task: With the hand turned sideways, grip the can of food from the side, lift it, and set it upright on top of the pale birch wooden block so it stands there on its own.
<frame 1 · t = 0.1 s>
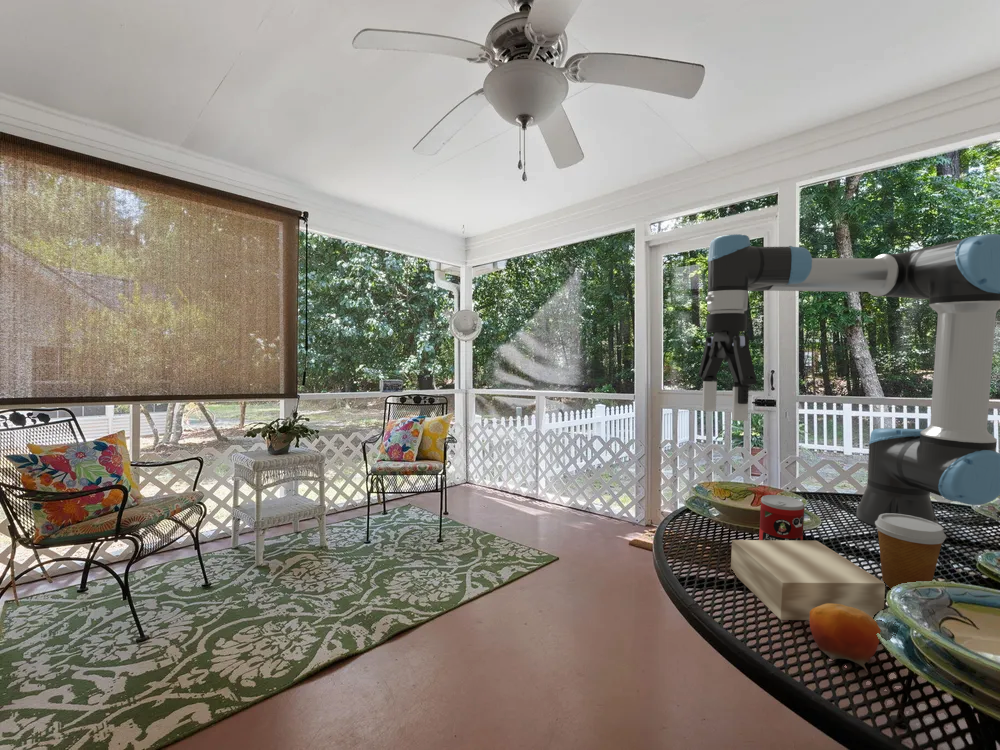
hand: (723, 415, 100), 28 cm above the table, tool pointing down, fingers open, 13 cm apart
birch block: (799, 593, 83), on the table
fruit: (843, 655, 67), on the table
disposable coffee cup: (905, 589, 85), on the table
canned food: (779, 553, 99), on the table
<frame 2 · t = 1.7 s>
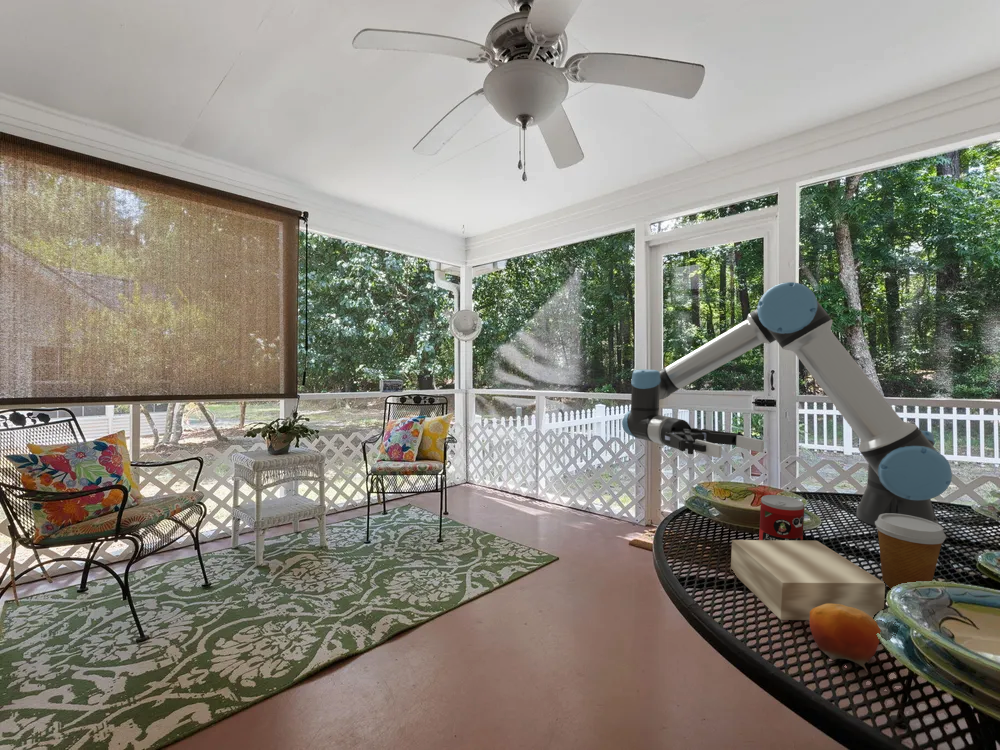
hand: (742, 449, 106), 20 cm above the table, tool horizontal, fingers open, 13 cm apart
nothing on the table moved.
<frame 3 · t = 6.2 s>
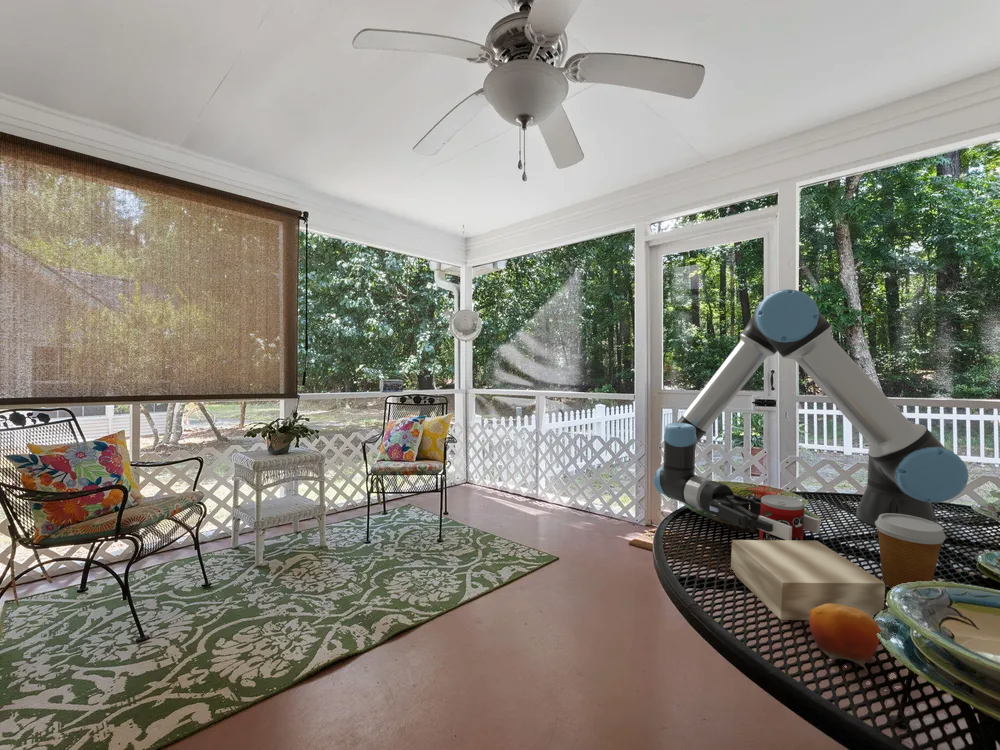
hand: (804, 530, 94), 7 cm above the table, tool horizontal, fingers closed on canned food, 8 cm apart
canned food: (779, 553, 99), on the table, touching gripper
everything else where it was.
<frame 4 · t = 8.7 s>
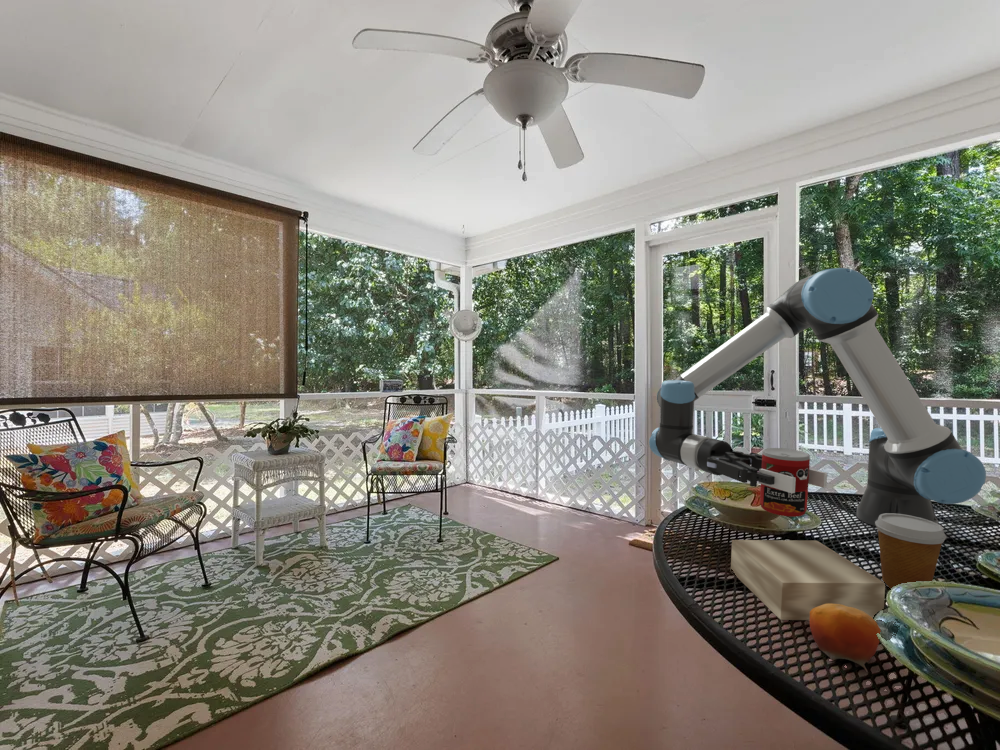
hand: (809, 482, 85), 18 cm above the table, tool horizontal, fingers closed on canned food, 8 cm apart
canned food: (782, 510, 90), point 11 cm above the table, touching gripper
everything else where it was.
when the fingers open (13 cm above the table, at t = 11.2 s): canned food stays where it is, resting on birch block.
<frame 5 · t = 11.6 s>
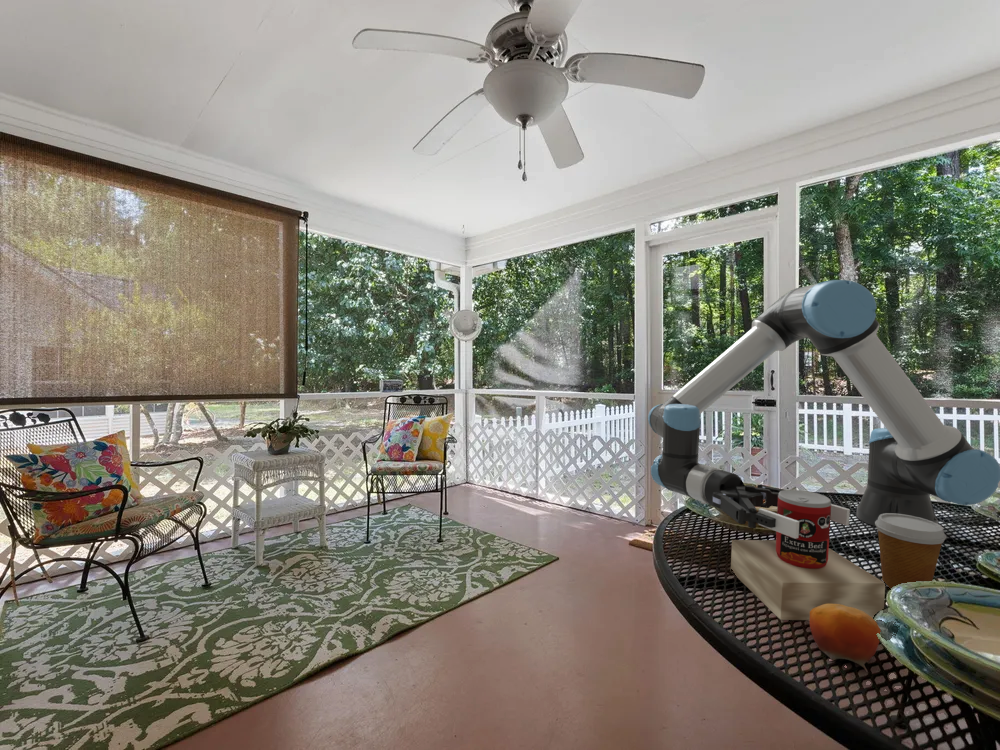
hand: (823, 523, 79), 13 cm above the table, tool horizontal, fingers open, 13 cm apart
canned food: (800, 560, 82), point 6 cm above the table, touching birch block
everything else where it was.
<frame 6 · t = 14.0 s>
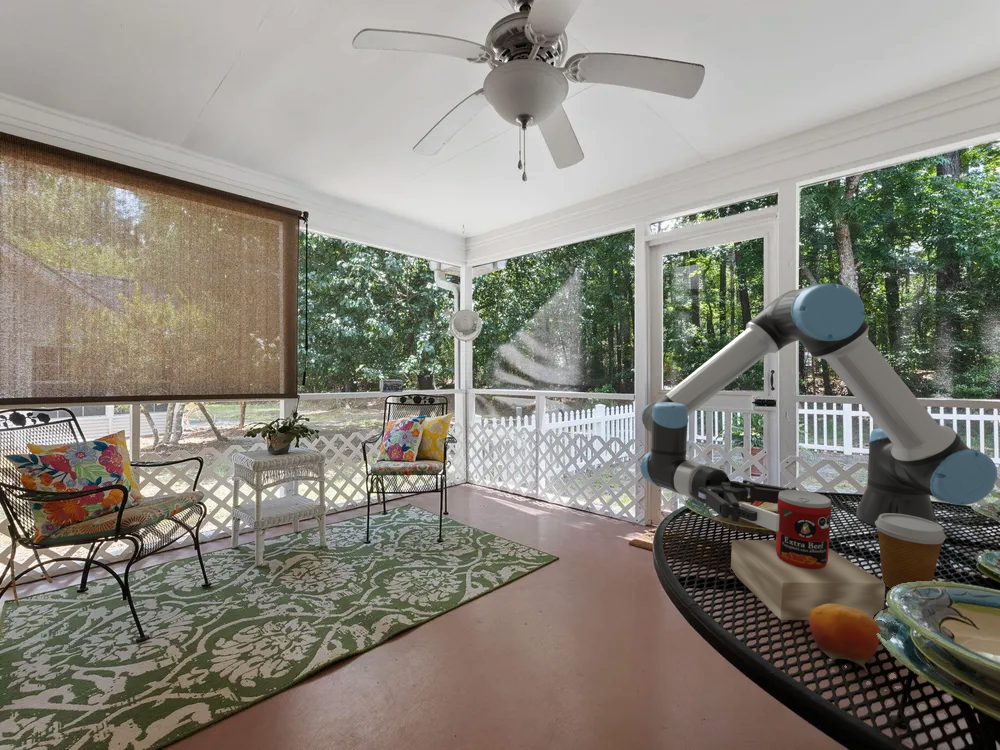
hand: (804, 517, 81), 14 cm above the table, tool horizontal, fingers open, 13 cm apart
nothing on the table moved.
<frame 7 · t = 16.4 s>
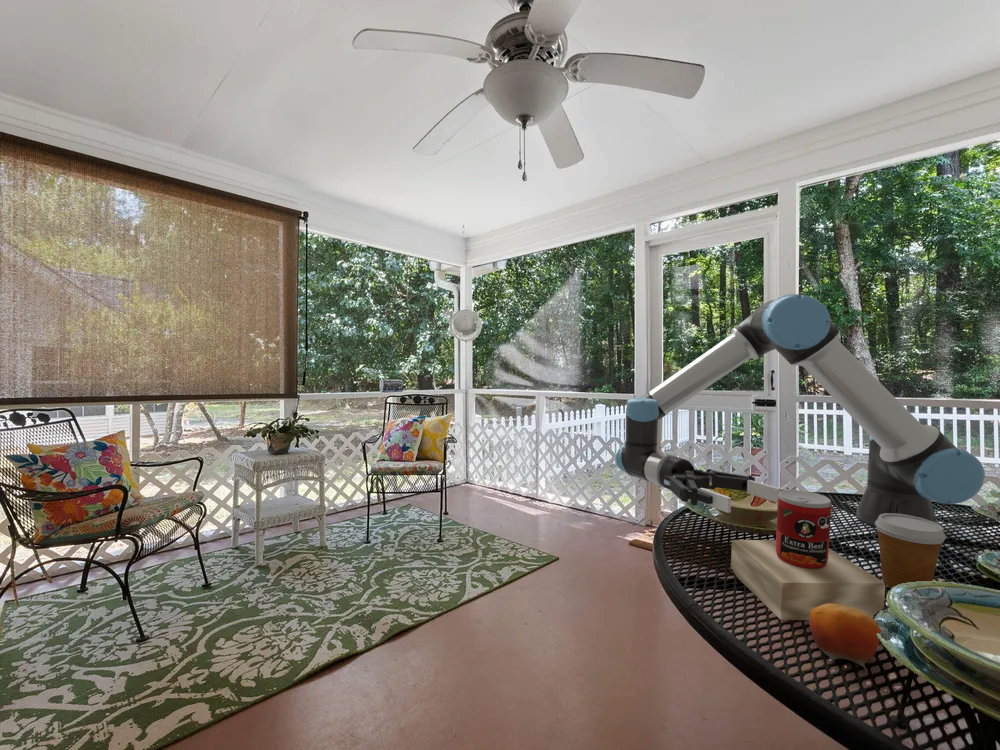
hand: (755, 500, 90), 14 cm above the table, tool horizontal, fingers open, 13 cm apart
nothing on the table moved.
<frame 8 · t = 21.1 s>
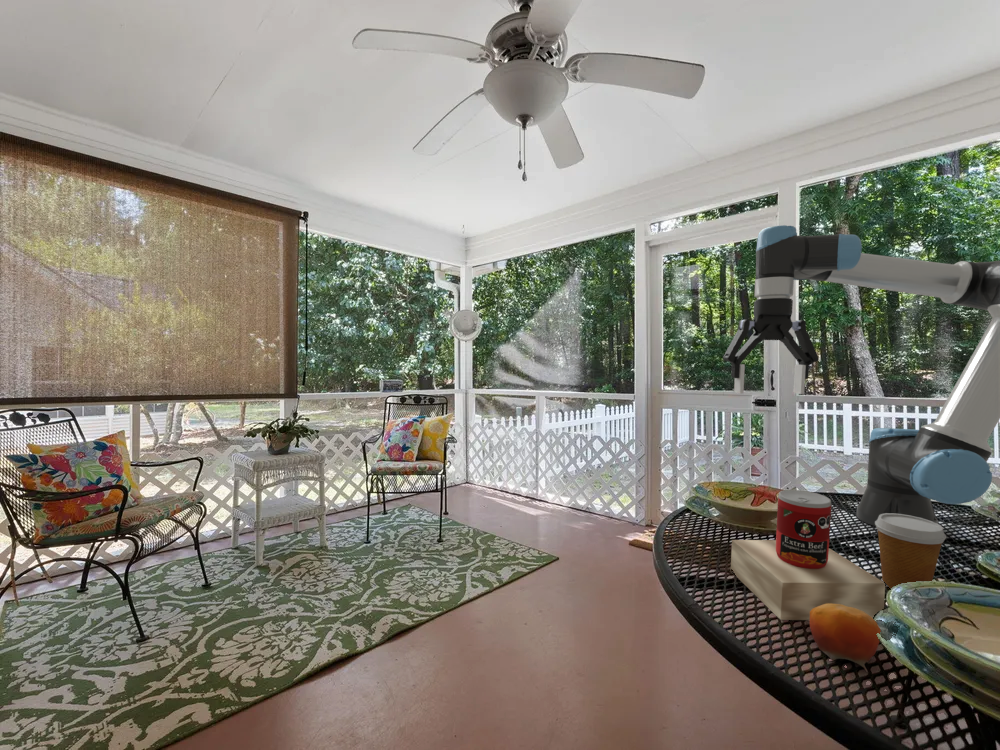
hand: (768, 393, 108), 32 cm above the table, tool pointing down, fingers open, 13 cm apart
nothing on the table moved.
at the end: canned food inside the target area on the birch block (0.1 cm from its centre), point 5.8 cm above the birch block's base; canned food tilted 0°; the gripper is holding nothing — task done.
